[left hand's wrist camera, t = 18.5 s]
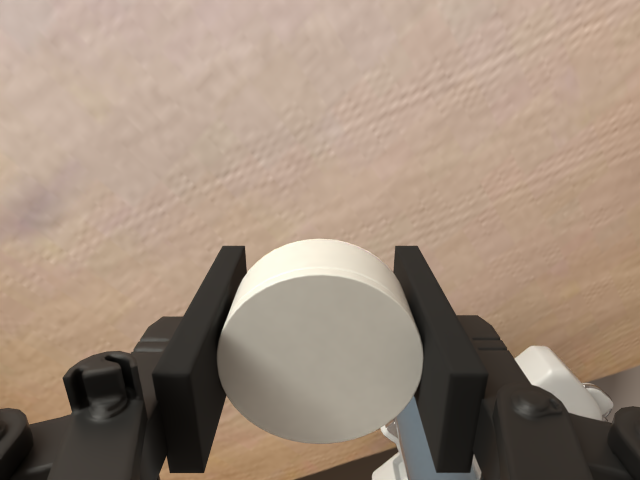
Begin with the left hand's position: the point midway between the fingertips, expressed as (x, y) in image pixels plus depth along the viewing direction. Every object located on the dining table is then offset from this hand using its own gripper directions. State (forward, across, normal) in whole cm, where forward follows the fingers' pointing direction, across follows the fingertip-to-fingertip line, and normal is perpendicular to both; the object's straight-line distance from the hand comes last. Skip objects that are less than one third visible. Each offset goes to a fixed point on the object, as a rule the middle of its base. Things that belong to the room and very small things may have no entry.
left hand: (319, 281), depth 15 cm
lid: (-4, 0, 0) cm, 4 cm away
